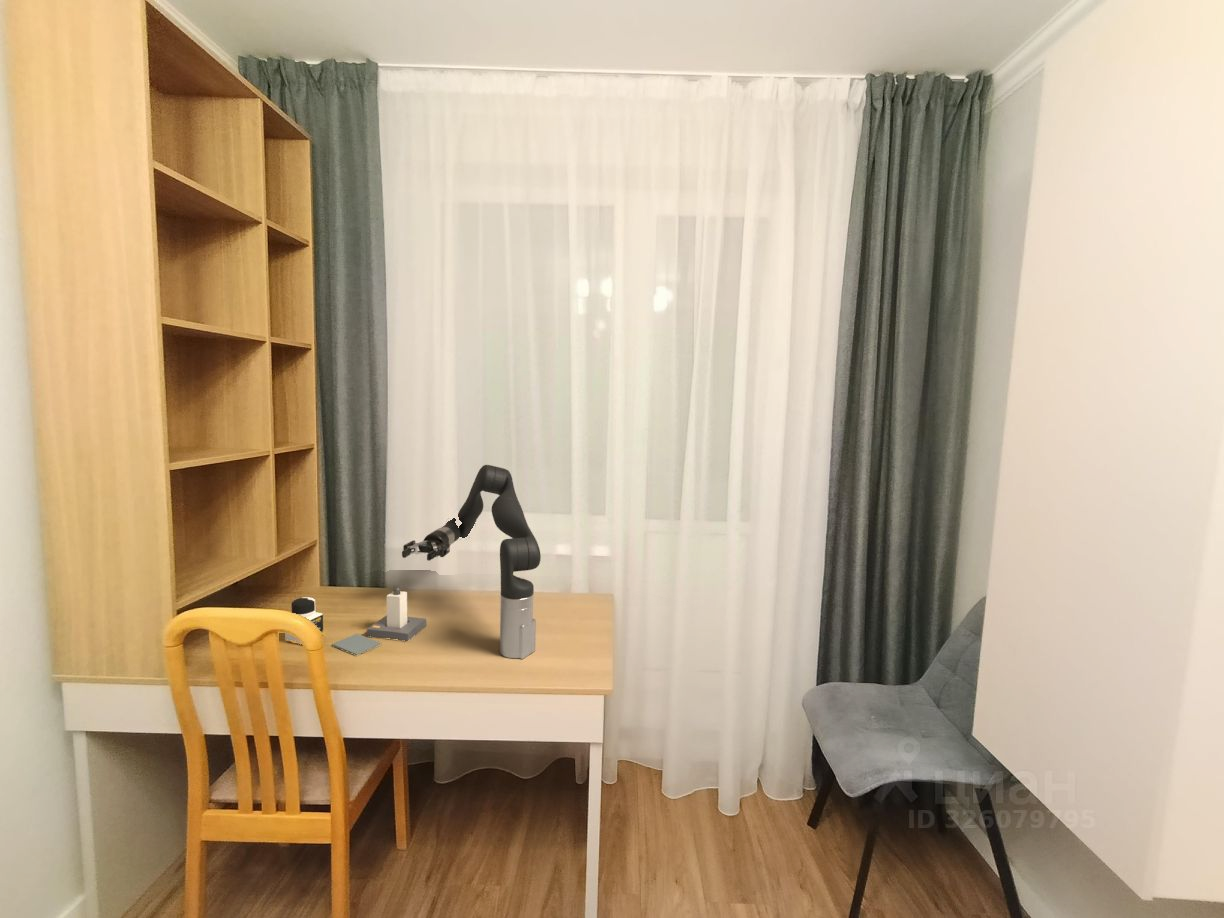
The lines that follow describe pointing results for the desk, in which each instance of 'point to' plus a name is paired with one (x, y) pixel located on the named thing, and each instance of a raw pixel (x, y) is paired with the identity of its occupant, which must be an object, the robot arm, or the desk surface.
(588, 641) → the desk surface
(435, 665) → the desk surface
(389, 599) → the plug
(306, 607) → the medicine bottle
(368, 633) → the socket block
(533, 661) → the desk surface
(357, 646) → the mat
